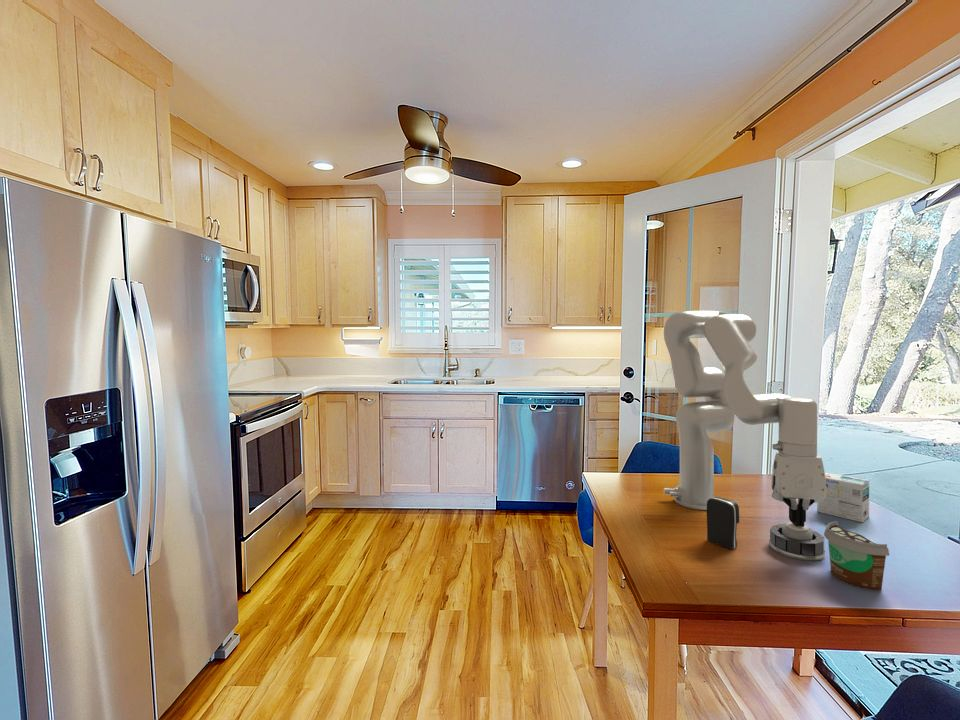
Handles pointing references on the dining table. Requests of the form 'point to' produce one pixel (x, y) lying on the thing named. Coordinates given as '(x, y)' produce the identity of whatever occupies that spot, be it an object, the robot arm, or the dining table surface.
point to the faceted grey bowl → (797, 545)
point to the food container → (855, 558)
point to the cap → (797, 531)
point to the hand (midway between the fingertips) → (797, 524)
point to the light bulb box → (845, 497)
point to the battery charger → (722, 521)
